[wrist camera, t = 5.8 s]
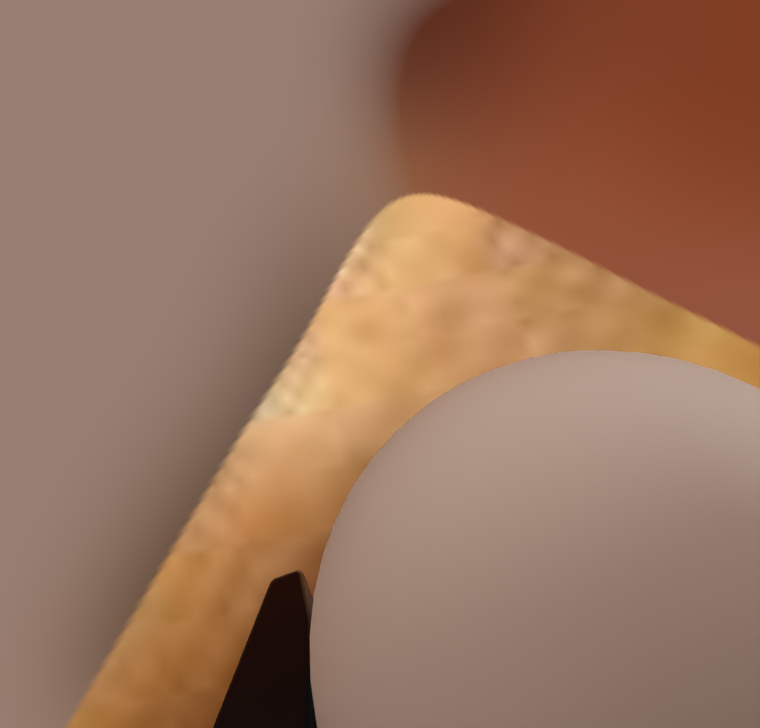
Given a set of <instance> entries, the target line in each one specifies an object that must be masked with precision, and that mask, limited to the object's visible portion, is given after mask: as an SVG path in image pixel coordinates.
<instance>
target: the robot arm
mask: <svg viewBox="0 0 760 728" xmlns="http://www.w3.org/2000/svg"><path fill="white" fill-rule="evenodd" d="M312 608H313V598H312V595H311V593H310V590H309V587H308V584H307V581H306V579H305V576H304V574H303V572H302V571H300V570H296V571H293V572H291V573H288V574H285V575H283V576H280V577H277V578H275V579H273V580H272V581H271V583H270V585H269V588H268V590H267V593H266V595H265V598H264V600H263V603H262V605H261V608H260V610H259V613H258V615H257V618H256V620H255V623H254V625H253V628H252V631H251V633H250V636H249V638H248V641H247V643H246V646H245V648H244V651H243V653H242V656H241V658H240V661H239V663H238V666H237V668H236V671H235V674H234V676H233V679H232V681H231V684H230V686H229V689H228V691H227V694H226V696H225V699H224V701H223V704H222V706H221V709H220V711H219V714H218V717H217V719H216V722H215V724H214V727H213V728H317V724H316V716H315V709H314V702H313V695H312V688H311V681H310V628H311V618H312Z"/></svg>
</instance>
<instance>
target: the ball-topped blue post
mask: <svg viewBox="0 0 760 728" xmlns="http://www.w3.org/2000/svg"><path fill="white" fill-rule="evenodd" d="M310 681H311V688H312V695H313V702H314V709H315V716H316V724H317V728H760V389H758V388H756V387H754V386H752V385H749V384H747V383H745V382H742V381H740V380H738V379H735V378H733V377H731V376H728V375H726V374H723V373H721V372H719V371H716V370H713V369H710V368H707V367H703V366H700V365H697V364H693V363H690V362H687V361H684V360H680V359H674V358H669V357H663V356H658V355H653V354H647V353H635V352H620V351H606V350H589V351H569V352H560V353H555V354H549V355H543V356H538V357H532V358H528V359H525V360H522V361H518V362H515V363H512V364H509V365H506V366H502V367H499V368H496V369H493V370H490V371H487V372H485V373H482V374H480V375H478V376H476V377H474V378H472V379H470V380H467V381H465V382H463V383H461V384H459V385H457V386H455V387H454V388H452V389H451V390H449V391H447V392H446V393H444V394H443V395H441V396H440V397H438V398H436V399H435V400H433V401H432V402H430V403H429V404H428V405H426V406H425V407H424V408H423V409H422V410H420V411H419V412H418V413H417V414H416V415H415V416H413V417H412V418H411V419H410V420H409V421H407V422H406V423H405V424H404V425H403V426H402V427H400V428H399V429H398V430H397V431H396V432H395V433H394V434H393V435H392V436H391V438H390V439H389V440H388V441H387V442H386V443H385V444H384V445H383V446H382V447H381V449H380V450H379V451H378V452H377V453H376V454H375V455H374V456H373V458H372V459H371V460H370V462H369V463H368V465H367V466H366V468H365V469H364V471H363V472H362V473H361V475H360V476H359V478H358V479H357V481H356V482H355V484H354V485H353V487H352V489H351V490H350V492H349V494H348V496H347V498H346V500H345V502H344V504H343V506H342V508H341V510H340V512H339V514H338V516H337V518H336V520H335V523H334V525H333V528H332V531H331V534H330V537H329V539H328V542H327V545H326V548H325V550H324V553H323V556H322V561H321V565H320V569H319V574H318V578H317V583H316V587H315V592H314V598H313V608H312V618H311V628H310Z"/></svg>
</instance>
